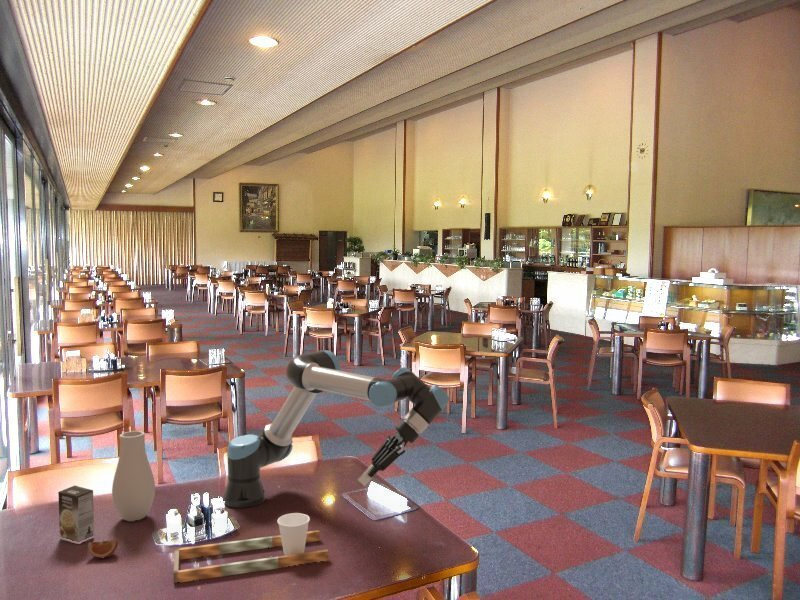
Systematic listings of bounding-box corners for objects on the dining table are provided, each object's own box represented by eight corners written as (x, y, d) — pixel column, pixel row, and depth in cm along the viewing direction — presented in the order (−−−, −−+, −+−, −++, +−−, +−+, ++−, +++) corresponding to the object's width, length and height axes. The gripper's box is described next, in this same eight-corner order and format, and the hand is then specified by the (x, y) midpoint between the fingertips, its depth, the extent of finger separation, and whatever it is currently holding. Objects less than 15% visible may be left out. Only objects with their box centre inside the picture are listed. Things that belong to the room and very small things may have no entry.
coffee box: (58, 540, 209) (56, 491, 207) (76, 532, 214) (74, 485, 213) (78, 545, 205) (76, 496, 204) (95, 537, 211) (94, 489, 209)
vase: (104, 523, 222) (101, 437, 220) (134, 508, 235) (131, 426, 232) (135, 529, 217) (132, 441, 214) (164, 514, 229) (162, 430, 227)
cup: (303, 563, 194) (303, 527, 193) (272, 559, 196) (272, 524, 195) (314, 548, 204) (314, 514, 203) (284, 545, 206) (284, 511, 205)
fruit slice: (85, 562, 194) (84, 546, 194) (92, 552, 201) (91, 536, 200) (114, 560, 195) (114, 544, 195) (120, 550, 202) (120, 534, 202)
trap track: (318, 539, 210) (318, 530, 210) (328, 560, 195) (328, 551, 195) (175, 558, 196) (174, 548, 196) (173, 583, 182) (173, 573, 182)
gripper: (426, 439, 203) (374, 497, 200) (412, 428, 216) (364, 483, 212) (410, 424, 201) (358, 482, 198) (397, 414, 214) (348, 468, 210)
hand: (361, 482), depth 205 cm, fingers closed
